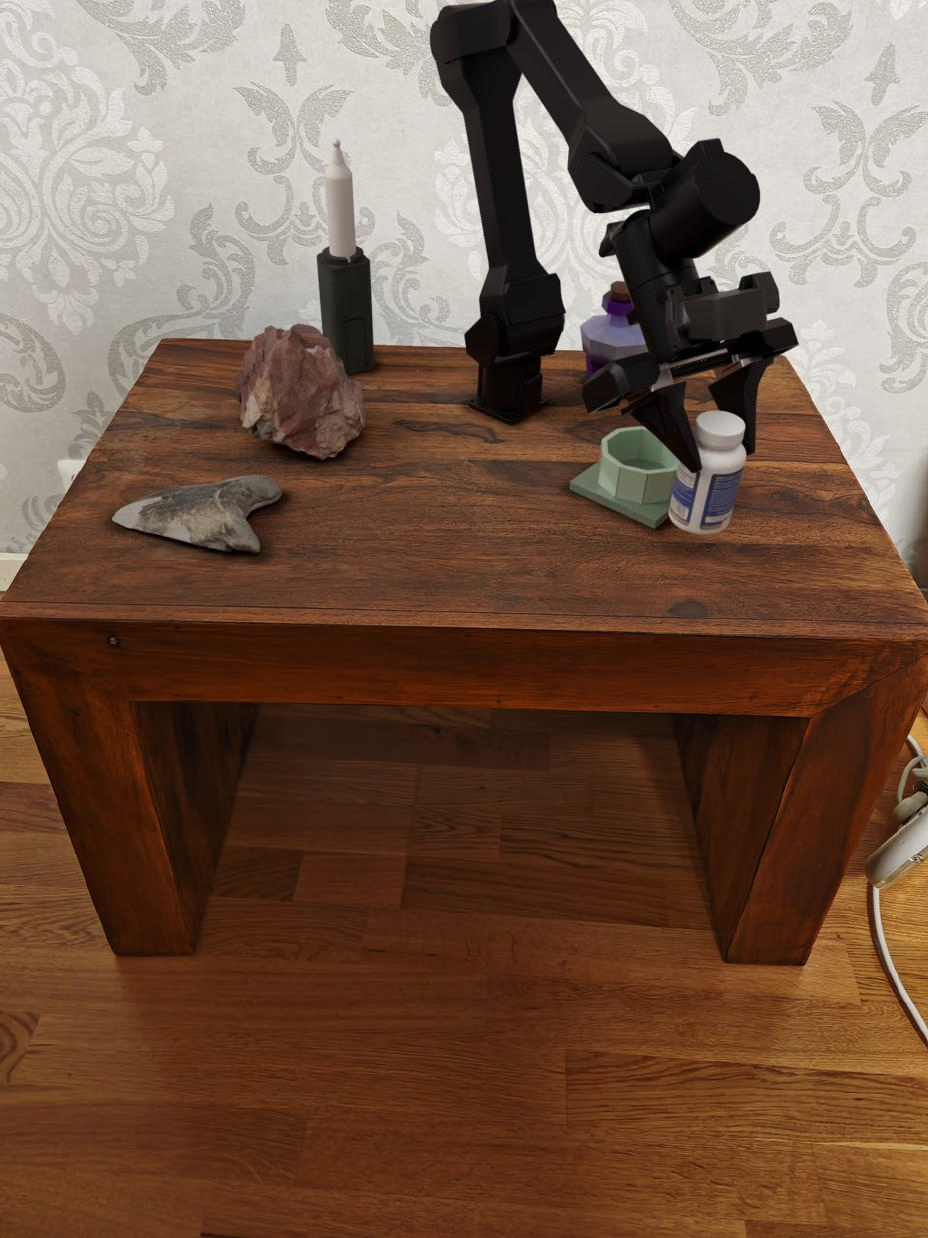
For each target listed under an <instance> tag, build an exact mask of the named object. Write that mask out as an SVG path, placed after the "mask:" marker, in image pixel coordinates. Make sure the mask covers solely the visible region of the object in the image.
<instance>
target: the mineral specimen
mask: <svg viewBox="0 0 928 1238" xmlns="http://www.w3.org/2000/svg"><path fill="white" fill-rule="evenodd" d="M333 347H334V346H333V345H332V343H331V342H330V340H329V339H328V338H326V337H324V336H323V333H322V331H320V330H319V329H318V328H317V327H315V326H314V325H310V324H304V323H296V324H293V325H292V326H291V327H289V329H286V330H284V329H283V328H281V327H280V328H277V327H275V326H273V325H269V326H266V327H264V330H263V332H262V333H259V334H257V335H254V337H253V339H252V342H251V346H250V347H249V349H248V350H246V352H245V353H244V355H243V356H242V362H241V365H240V372H239V373H237V374H236V375H235V376H236V377H235V400H236V401H237V402H238V403H239V404H240V417H239V418H240V421H242V427H243V428H245V429H246V430H247V431H248V433H249V435H250V436H252V438H257V439H258V440H260V441H262V442H265V443H268V444H276V445H285V446H287V447H288V448H289V449H291V450H293V451H295V452H297V453H298V452H304V453H305V454H306V455H309V456H311V455H312V456H313V457H315V458H317V459H319V460H322V461H323V460H326V459H327V458H332V459H333V458H336V457H337V456H338V455H339V453H340V452H341V451H343V450H344V449H345V447H346V446H347V443H349V442H350V441H352V440H355V439H356V438H357V437H359V435H360V434H361V430H363V429H364V428H365V427H366V425H367V412H366V410H365V407H364V403H365V397H364V395H363V392H364V389H363V384H362V383H361V382H360V381H358V380H355V379H350V378H349V375H347V374H346V373H345V368H344V363H343V360H342V359H341V358H339V357H336V354H335V351H334V348H333Z"/></svg>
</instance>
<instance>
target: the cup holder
mask: <svg viewBox="0 0 928 1238" xmlns="http://www.w3.org/2000/svg"><path fill="white" fill-rule="evenodd" d="M598 455H599V456H598V460H597V461H596V462H595V463H593V464H592V465H590V467H588V468H586V469H585V470H584V471H582V472H581V473H580V474H578V475H577V476H576V477H574V478H572V479H571V480H570V481H569V487H568V490H570V491H572V492H574V493H576V494H578V495H580V496H583V497H584V498H587V499H588V500H591V501H593V502H596V503H597V504H600V505H602V506H604V507H606V508H609V509H610V510H613V511H615V512H617V513H620V514H621V515H623V516H625V517H627V518H630V519H632V520H634V521H636V522H638V523H641V524H642V525H644V526H647V527H650V528H651V529H654V530H655V529H657V528H658V527H659V526H660V525H661V524H663V523H664V522H665V521H666V520H668V518H670V516H669V507H670V501H671V496H672V491H673V486H674V481H675V476H676V472H677V467H678V462H679V460H678V459H677V458H676V457H675V456H674V455H673V454H672V453H671V452H670V451H669V449H668V448H667V447H666V446H665V445H664V444H663V443H662V442H661V441H660V440H659V439H658V438H657V437H655V436H654V435H653V434H652V433H651V432H650V431H649V430H647V429H646V428H645V427H644V426H643V425H639V426H638V425H637V426H630V427H629V426H628V427H621V428H616V429H615V430H613V431H611V432H610V433H608V434H607V435H606V436H605V437H603V438H601V441H600V447H599V454H598Z"/></svg>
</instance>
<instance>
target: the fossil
mask: <svg viewBox="0 0 928 1238" xmlns="http://www.w3.org/2000/svg"><path fill="white" fill-rule="evenodd" d="M282 495H283V488H282V486H281V485H280V484H279V483H278V482H277V481H276V480H274V479H273V478H271V477H268V476H266V475H262V474H256V475H255V474H252V475H241V476H236V477H232V478H228V479H225V480H222V481H216V482H211V483H202V484H188V485H179V486H174V487H169V488H165V489H163V490H159V491H156V492H153V493H151V494H148V495H146V496H143V497H141V498H138V499H136V500H134V501H132V502H130V503H128V504H126V505H125V506H122V507H121V508H120V509H118V510H117V511H115V513H114V515H113V516H112V518H111V520H112V522H113V523H116V524H118V525H120V526H122V527H124V528H126V529H130V530H135V531H141V532H144V533H149V534H154V535H158V536H161V537H164V538H170V539H173V540H176V541H181V542H186V543H189V544H192V545H195V546H199V547H204V548H208V549H212V550H217V551H223V552H228V553H231V552H233V550H236V551H246V552H247V551H248V552H251V553H253V554H258V553H260V551H261V543H260V540H259V538H258V535H256V533H255V531H254V530H253V528H252V527H251V525H250V523H249V522H248V520H247V517H248V516H249V515H250V513H251V512H253V511H255V510H257V509H259V508H261V507H265V506H269V505H271V504H274V503H276V502H277V501H278V500H280V499H281V496H282Z"/></svg>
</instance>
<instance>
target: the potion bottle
mask: <svg viewBox="0 0 928 1238" xmlns="http://www.w3.org/2000/svg"><path fill="white" fill-rule="evenodd" d="M601 308H602V309H603V311H604V312H605V314H597V315H592V316H590V317H589V318H588V319H587V320H586V321H584V322H583V323H582V324H581V325H579V330H580V338H581V339H580V340H581V346H582V352H584V353H585V354H586V355H585V365H586V366H585V367H586V374H587V375H586V376H587V378H588V377H589V376H591V375H592V374H594V373H595V372H596V371H598V370H599V369H601V368H602V367H604V366H605V365H607V364H608V363H610V362H611V361H613V360H617V359H621V358H625V357H629V356H632V355H636V354H640V353H644V352H647V353H649V352H648V349H647V346H646V343H645V340H644V337H643V334H642V331H641V329H640V326H639V324H636V325H632V326H629V323H628V320H627V317H626V314H627V313H629V312H630V311H631V310H633V309H634V308H633V305H632V302H631V299H630V296H629V293H628V290H627V287H626V284H625V281H624V280H615V281H613V282H611V284H610V289H609V290H608V291H607V292H605V293H604V294H603V295H602V300H601ZM624 396H626V394H624V395H623V397H624Z"/></svg>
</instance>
